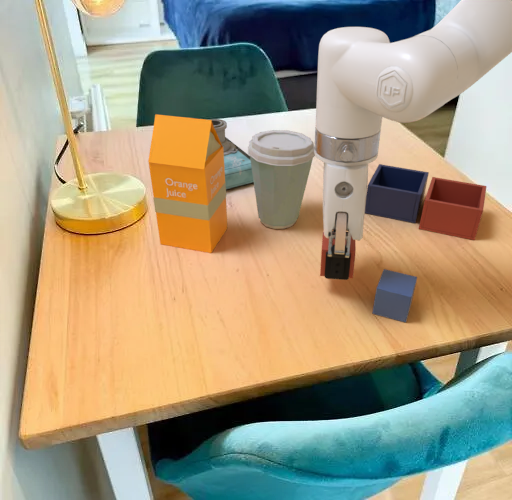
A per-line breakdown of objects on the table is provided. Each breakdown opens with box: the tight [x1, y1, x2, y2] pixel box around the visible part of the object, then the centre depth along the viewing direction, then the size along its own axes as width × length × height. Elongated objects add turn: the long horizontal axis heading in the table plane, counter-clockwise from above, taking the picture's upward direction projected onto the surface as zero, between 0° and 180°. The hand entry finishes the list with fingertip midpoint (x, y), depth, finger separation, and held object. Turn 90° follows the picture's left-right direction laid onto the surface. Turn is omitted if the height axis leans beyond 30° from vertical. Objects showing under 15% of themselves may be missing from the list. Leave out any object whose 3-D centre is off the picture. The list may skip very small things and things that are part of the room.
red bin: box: [418, 176, 487, 241], centre depth 84 cm, size 9×9×6 cm
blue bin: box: [365, 163, 429, 224], centre depth 88 cm, size 9×9×6 cm
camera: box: [209, 118, 254, 190], centre depth 98 cm, size 16×10×10 cm
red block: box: [319, 231, 357, 279], centre depth 69 cm, size 4×4×4 cm
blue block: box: [372, 268, 418, 323], centre depth 66 cm, size 4×4×4 cm
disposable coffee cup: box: [247, 129, 316, 230], centre depth 82 cm, size 11×11×15 cm
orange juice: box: [147, 113, 229, 254], centre depth 77 cm, size 8×9×20 cm
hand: (336, 265), depth 70 cm, fingers closed on red block, 4 cm apart
